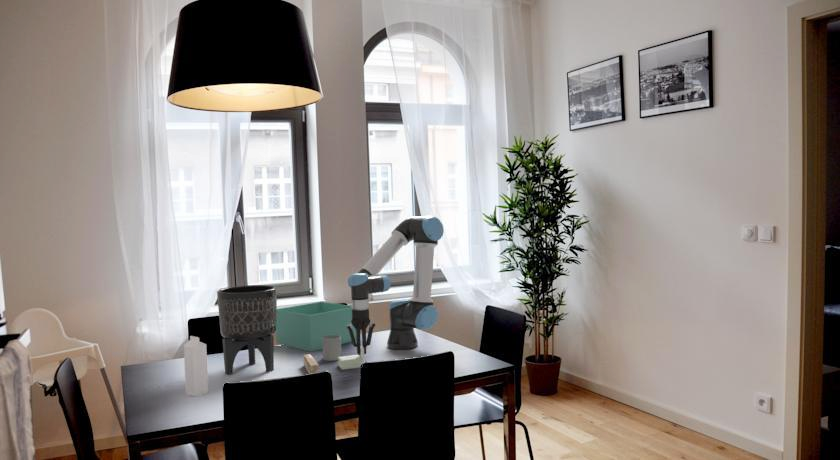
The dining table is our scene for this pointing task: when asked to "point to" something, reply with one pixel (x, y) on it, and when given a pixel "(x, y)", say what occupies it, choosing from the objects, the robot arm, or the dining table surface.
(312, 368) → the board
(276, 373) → the dining table surface
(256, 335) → the planter
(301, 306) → the box
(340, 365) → the block
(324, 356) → the cup
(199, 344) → the milk
